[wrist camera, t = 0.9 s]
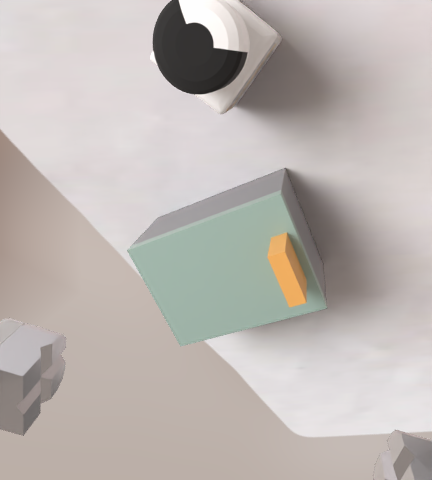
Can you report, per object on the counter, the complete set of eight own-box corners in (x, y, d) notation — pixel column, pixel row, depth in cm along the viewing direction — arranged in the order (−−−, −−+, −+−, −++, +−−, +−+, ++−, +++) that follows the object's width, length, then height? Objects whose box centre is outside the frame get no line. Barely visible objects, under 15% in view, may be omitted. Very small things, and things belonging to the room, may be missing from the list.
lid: (281, 187, 36) (277, 209, 31) (326, 297, 40) (329, 334, 35) (134, 242, 42) (109, 269, 36) (185, 335, 45) (169, 372, 40)
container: (235, 107, 41) (207, 126, 30) (173, 59, 41) (121, 59, 29) (283, 37, 38) (274, 28, 26) (218, -16, 37) (178, -50, 26)
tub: (285, 167, 43) (281, 189, 36) (323, 264, 46) (326, 301, 39) (157, 217, 48) (131, 245, 41) (200, 300, 52) (183, 339, 45)
